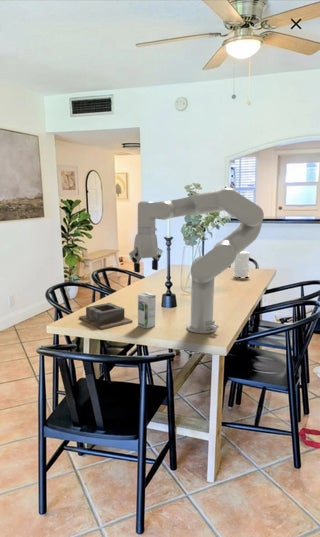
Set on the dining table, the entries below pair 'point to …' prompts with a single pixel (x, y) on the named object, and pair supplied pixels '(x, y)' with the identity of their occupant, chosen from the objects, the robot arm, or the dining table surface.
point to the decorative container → (242, 264)
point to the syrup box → (146, 310)
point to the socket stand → (105, 316)
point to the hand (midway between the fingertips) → (146, 270)
